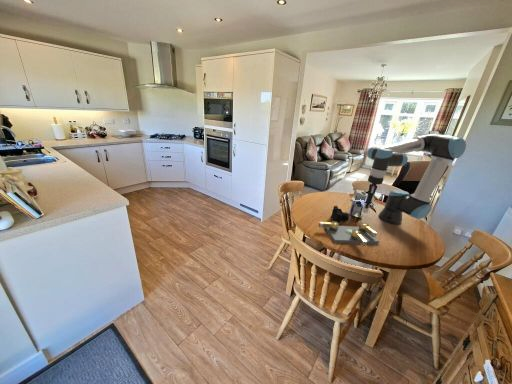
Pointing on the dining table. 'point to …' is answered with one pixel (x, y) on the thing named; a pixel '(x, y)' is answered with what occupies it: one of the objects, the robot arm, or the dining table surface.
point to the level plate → (349, 235)
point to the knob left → (358, 237)
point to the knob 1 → (329, 225)
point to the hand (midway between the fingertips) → (364, 212)
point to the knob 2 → (367, 229)
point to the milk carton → (354, 206)
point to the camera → (339, 215)
